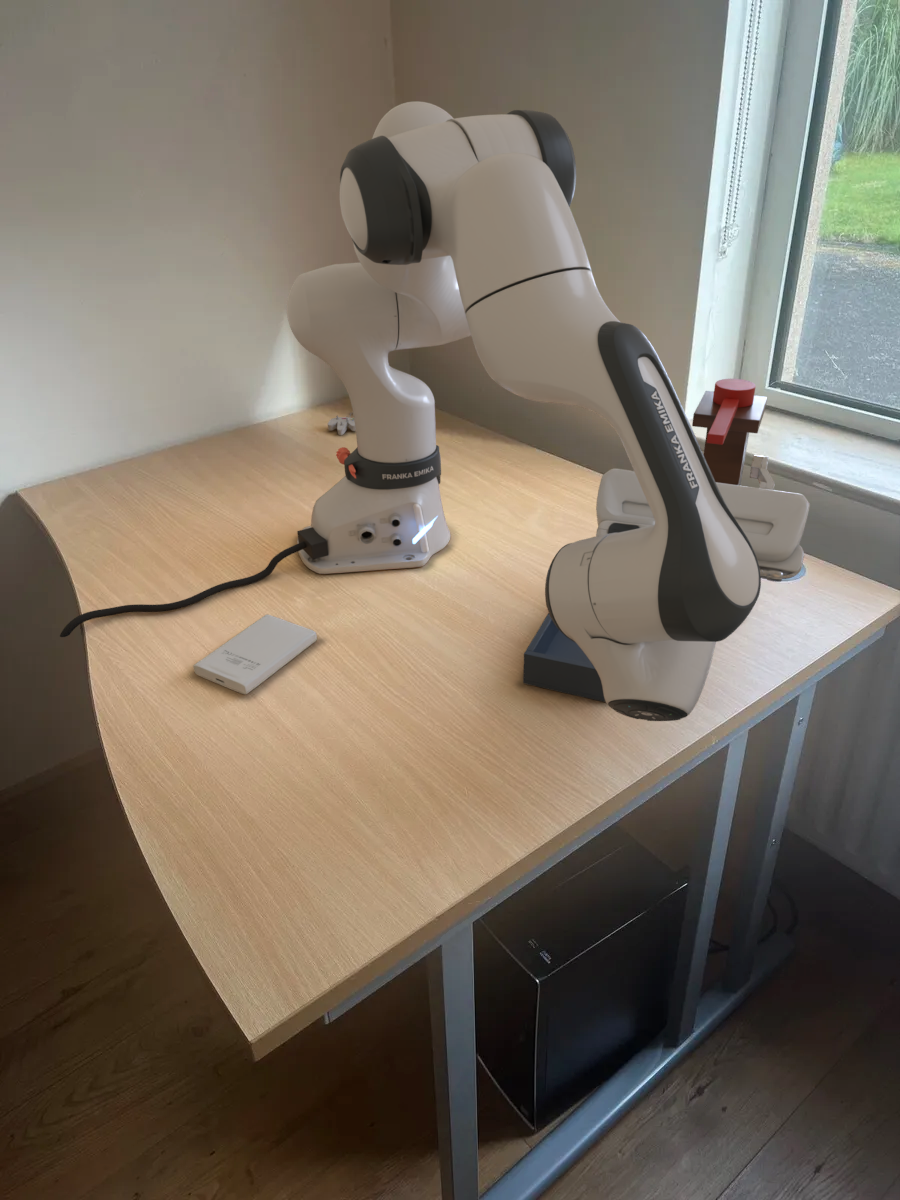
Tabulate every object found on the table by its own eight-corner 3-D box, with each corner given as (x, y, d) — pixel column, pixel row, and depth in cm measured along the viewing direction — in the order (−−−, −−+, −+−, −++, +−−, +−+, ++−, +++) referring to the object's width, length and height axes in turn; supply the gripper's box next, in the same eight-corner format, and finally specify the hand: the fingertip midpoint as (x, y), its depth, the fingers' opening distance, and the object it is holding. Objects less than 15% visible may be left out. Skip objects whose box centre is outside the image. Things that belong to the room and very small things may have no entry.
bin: (606, 702, 94) (609, 672, 92) (523, 683, 97) (523, 653, 95) (644, 612, 109) (648, 584, 107) (571, 598, 112) (573, 571, 110)
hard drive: (317, 642, 105) (246, 696, 96) (267, 624, 109) (194, 674, 100) (316, 631, 104) (244, 684, 95) (265, 613, 108) (192, 663, 99)
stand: (733, 623, 106) (769, 421, 93) (660, 610, 109) (684, 412, 96) (743, 585, 114) (777, 393, 101) (674, 573, 117) (699, 385, 104)
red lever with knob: (737, 446, 87) (740, 427, 86) (692, 441, 88) (694, 422, 87) (755, 397, 100) (757, 380, 98) (715, 393, 101) (718, 376, 100)
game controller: (329, 436, 165) (328, 423, 163) (324, 417, 175) (323, 404, 173) (359, 433, 166) (358, 420, 164) (352, 414, 175) (351, 402, 174)
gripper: (803, 567, 77) (825, 446, 83) (580, 530, 84) (615, 421, 90) (794, 601, 82) (816, 486, 88) (585, 564, 89) (618, 459, 95)
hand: (713, 453), depth 89 cm, fingers open, 8 cm apart
